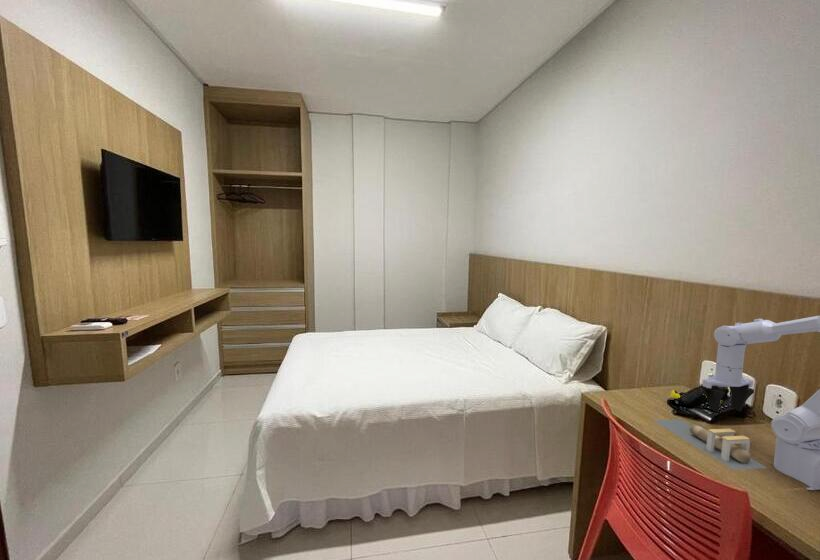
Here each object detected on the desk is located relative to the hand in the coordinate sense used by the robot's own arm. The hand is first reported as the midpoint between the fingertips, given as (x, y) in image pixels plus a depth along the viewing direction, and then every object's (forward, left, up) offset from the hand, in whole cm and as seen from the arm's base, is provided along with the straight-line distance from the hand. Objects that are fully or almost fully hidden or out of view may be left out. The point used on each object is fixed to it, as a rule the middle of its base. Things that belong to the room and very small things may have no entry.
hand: (724, 409), depth 99 cm
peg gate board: (-2, +8, -9) cm, 12 cm away
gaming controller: (+20, -11, -10) cm, 25 cm away
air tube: (-5, +8, -8) cm, 13 cm away
